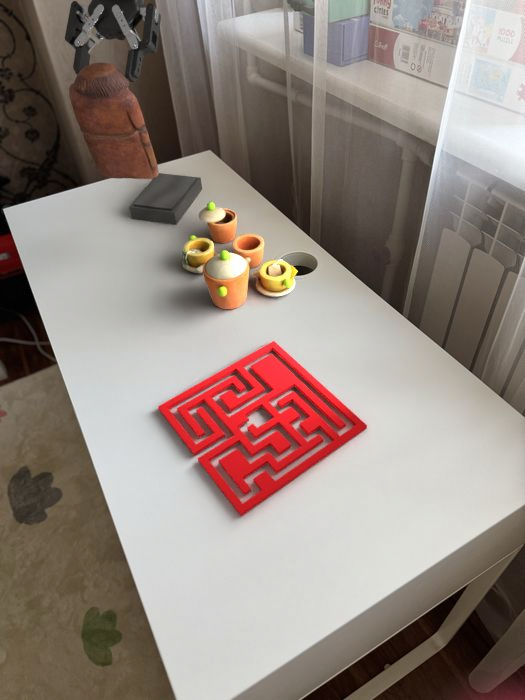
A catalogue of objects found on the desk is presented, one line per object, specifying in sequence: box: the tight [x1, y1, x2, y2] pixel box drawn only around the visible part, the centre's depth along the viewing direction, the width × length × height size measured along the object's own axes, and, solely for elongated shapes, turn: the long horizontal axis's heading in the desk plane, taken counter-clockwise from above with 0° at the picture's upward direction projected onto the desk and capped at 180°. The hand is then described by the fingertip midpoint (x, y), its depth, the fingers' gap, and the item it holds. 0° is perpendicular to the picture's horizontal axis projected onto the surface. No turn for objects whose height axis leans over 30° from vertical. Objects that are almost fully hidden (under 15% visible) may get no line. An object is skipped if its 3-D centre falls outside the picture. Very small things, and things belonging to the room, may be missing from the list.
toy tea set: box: [181, 201, 299, 310], centre depth 92 cm, size 26×16×10 cm, turn 31°
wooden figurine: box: [68, 62, 160, 180], centre depth 85 cm, size 12×6×18 cm, turn 80°
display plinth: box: [128, 172, 203, 226], centre depth 110 cm, size 10×14×3 cm
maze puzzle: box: [157, 340, 368, 517], centre depth 72 cm, size 20×20×1 cm
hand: (105, 78), depth 80 cm, fingers closed on wooden figurine, 8 cm apart
